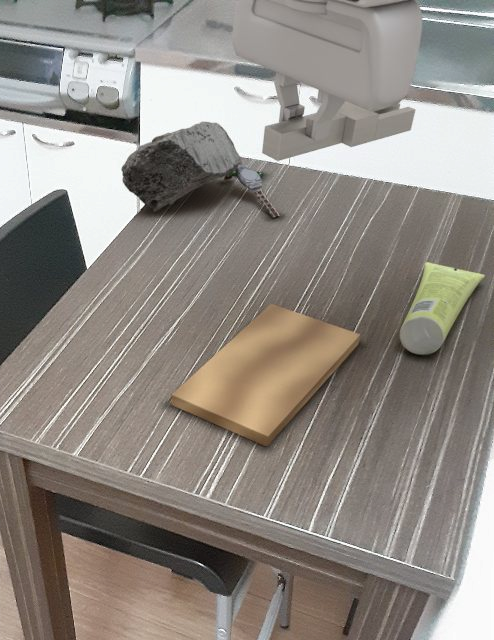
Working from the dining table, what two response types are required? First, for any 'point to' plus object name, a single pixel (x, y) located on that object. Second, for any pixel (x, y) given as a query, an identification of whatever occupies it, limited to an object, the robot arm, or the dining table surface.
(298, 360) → the board
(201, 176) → the stone
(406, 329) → the tube
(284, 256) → the dining table surface
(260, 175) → the circuit board
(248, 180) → the wristwatch
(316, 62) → the robot arm
